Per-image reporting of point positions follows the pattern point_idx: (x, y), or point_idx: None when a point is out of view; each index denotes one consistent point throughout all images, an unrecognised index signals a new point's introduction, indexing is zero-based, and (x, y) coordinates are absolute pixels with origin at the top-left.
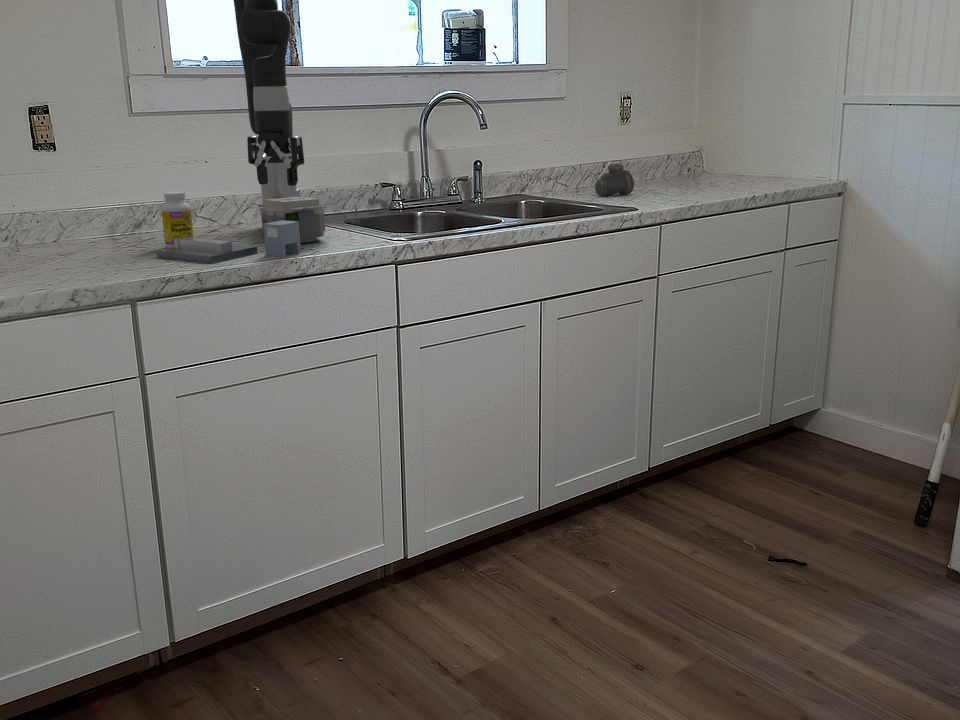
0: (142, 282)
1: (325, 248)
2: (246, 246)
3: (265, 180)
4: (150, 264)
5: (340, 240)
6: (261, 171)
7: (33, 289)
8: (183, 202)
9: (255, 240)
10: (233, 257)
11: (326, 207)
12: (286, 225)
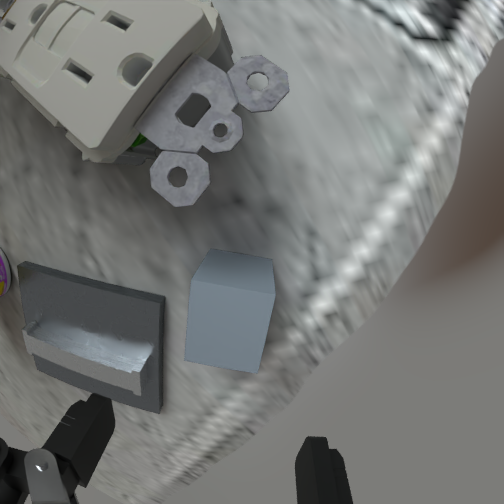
0: (184, 486)
1: (307, 180)
2: (135, 309)
3: (105, 418)
4: None
5: (276, 46)
6: (91, 468)
7: (117, 493)
8: None
9: (52, 134)
10: (161, 363)
11: (287, 76)
12: (262, 347)
